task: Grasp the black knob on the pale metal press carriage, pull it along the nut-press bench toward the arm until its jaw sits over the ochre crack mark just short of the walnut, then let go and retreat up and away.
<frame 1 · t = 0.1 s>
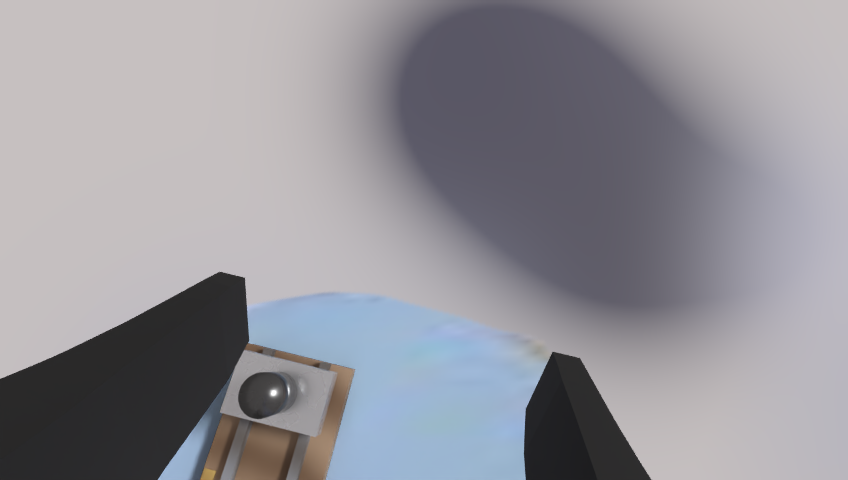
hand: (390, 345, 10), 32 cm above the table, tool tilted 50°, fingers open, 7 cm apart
press carriage: (273, 393, 34), point 6 cm above the table, slide at 0.0 cm
nut press: (270, 465, 38), on the table
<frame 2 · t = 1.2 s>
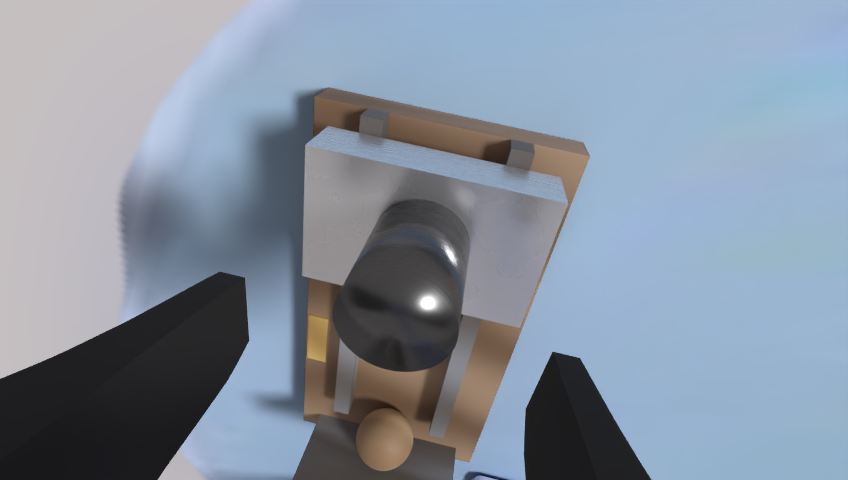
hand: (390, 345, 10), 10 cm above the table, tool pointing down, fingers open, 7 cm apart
press carriage: (415, 260, 13), point 6 cm above the table, slide at 0.0 cm
nut press: (415, 302, 22), on the table
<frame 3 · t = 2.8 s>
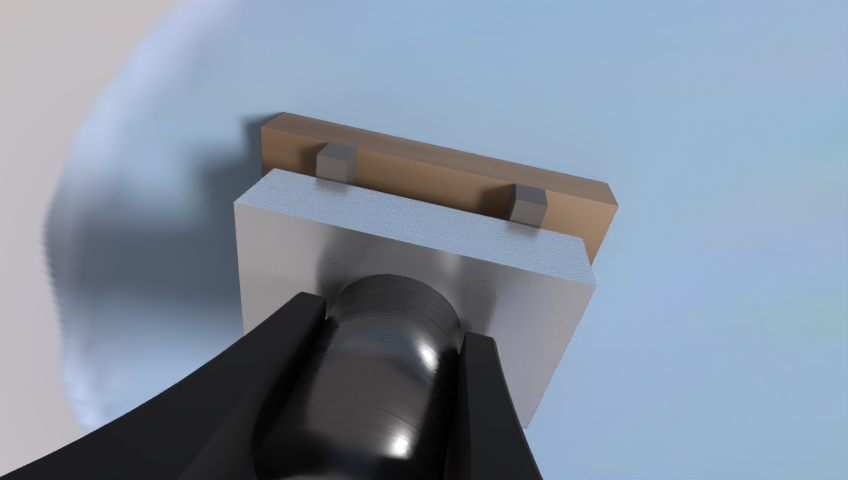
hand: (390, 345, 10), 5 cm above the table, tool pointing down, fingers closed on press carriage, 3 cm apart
press carriage: (386, 357, 10), point 6 cm above the table, slide at 0.0 cm, touching gripper
nut press: (399, 361, 18), on the table
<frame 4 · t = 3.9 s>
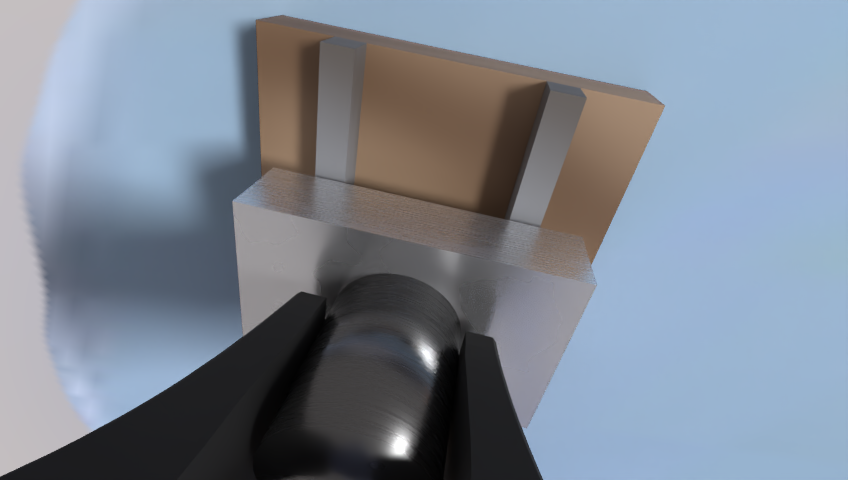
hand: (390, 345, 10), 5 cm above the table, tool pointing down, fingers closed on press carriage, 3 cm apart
press carriage: (386, 357, 10), point 6 cm above the table, slide at 2.7 cm, touching gripper
nut press: (409, 314, 17), on the table
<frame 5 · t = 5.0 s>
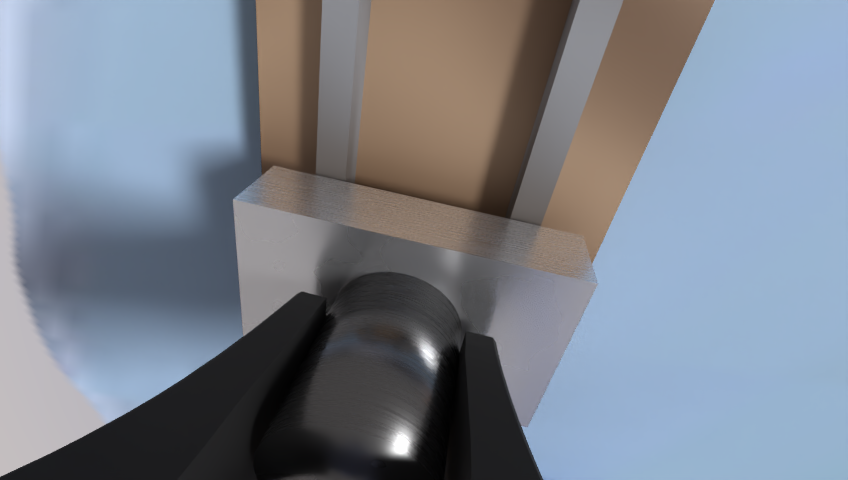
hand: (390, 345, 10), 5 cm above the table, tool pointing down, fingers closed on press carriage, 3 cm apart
press carriage: (386, 355, 10), point 6 cm above the table, slide at 6.9 cm, touching gripper
nut press: (428, 218, 14), on the table
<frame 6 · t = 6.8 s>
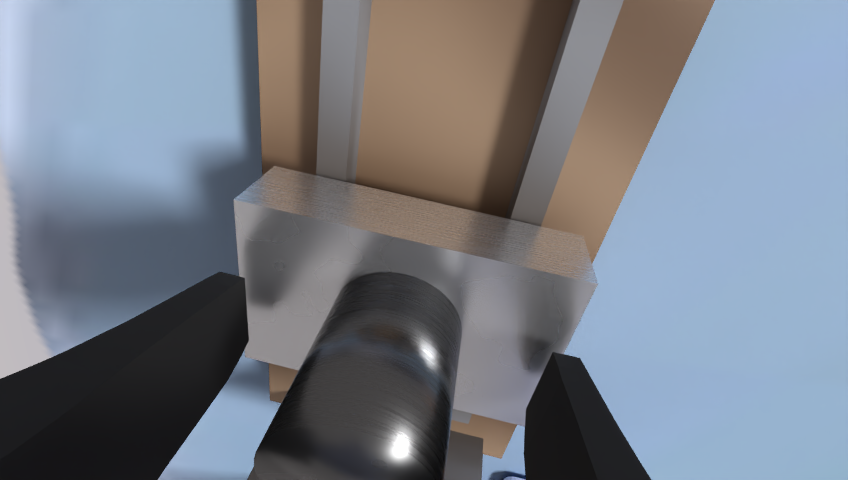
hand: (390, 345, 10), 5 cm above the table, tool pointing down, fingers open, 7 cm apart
press carriage: (387, 355, 10), point 6 cm above the table, slide at 6.9 cm
nut press: (428, 218, 14), on the table
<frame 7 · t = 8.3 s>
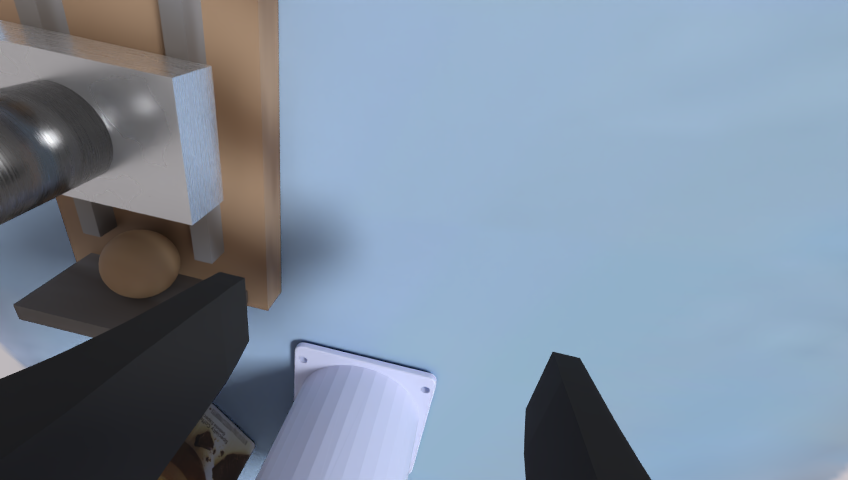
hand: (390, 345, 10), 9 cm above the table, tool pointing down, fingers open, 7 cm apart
press carriage: (37, 141, 13), point 6 cm above the table, slide at 6.9 cm
coffee box: (187, 410, 30), on the table
nut press: (162, 86, 18), on the table
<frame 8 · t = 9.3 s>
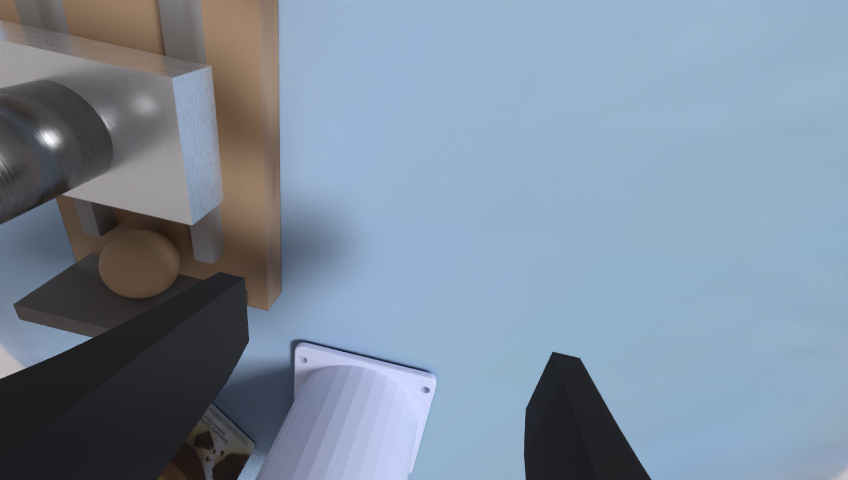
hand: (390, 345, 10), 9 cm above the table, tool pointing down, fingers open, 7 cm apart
press carriage: (37, 141, 13), point 6 cm above the table, slide at 6.9 cm
coffee box: (187, 410, 30), on the table
nut press: (162, 86, 18), on the table
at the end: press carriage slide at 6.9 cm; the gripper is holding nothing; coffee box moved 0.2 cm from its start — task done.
